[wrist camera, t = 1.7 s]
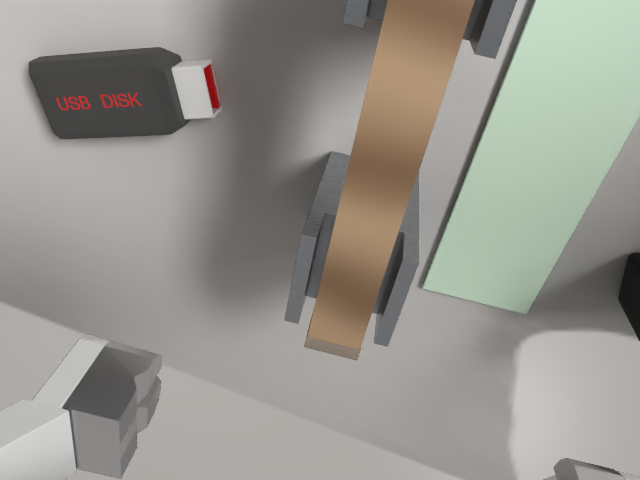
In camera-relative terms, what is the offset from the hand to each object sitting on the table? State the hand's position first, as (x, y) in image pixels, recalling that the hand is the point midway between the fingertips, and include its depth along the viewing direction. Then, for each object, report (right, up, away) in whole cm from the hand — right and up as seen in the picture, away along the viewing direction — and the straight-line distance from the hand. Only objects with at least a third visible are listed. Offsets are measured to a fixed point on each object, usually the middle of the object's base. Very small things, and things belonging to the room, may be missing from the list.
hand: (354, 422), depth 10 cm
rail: (+3, +9, +14) cm, 17 cm away
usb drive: (-13, +14, +24) cm, 31 cm away
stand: (+2, +7, +25) cm, 26 cm away
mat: (+14, +11, +20) cm, 27 cm away
